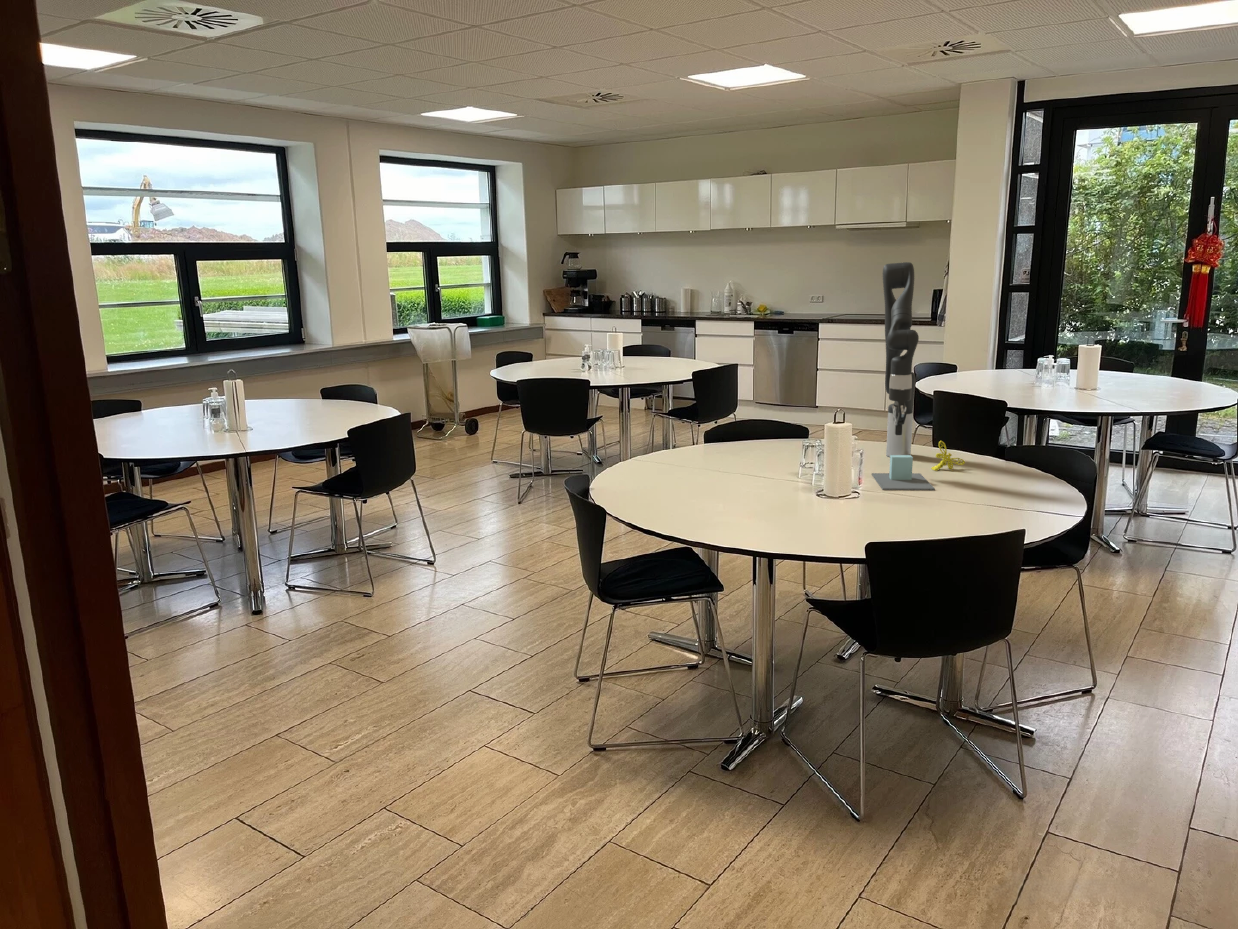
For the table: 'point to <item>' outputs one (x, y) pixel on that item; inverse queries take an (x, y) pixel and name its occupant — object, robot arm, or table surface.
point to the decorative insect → (943, 463)
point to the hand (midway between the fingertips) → (898, 434)
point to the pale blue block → (901, 467)
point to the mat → (902, 482)
